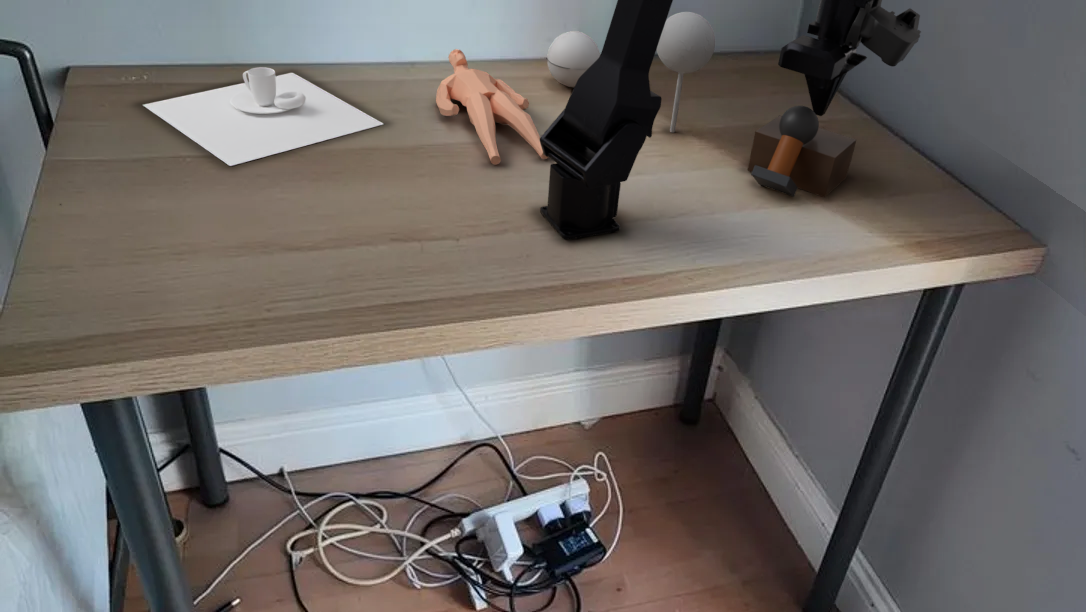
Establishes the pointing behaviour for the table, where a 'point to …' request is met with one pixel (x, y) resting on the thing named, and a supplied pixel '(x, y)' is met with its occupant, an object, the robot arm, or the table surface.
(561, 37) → the white oval body
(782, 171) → the ball-topped stamp
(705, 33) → the lollipop
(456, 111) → the male figurine
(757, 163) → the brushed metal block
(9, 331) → the table surface
